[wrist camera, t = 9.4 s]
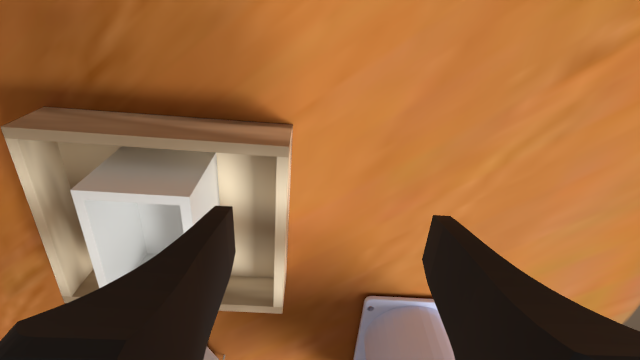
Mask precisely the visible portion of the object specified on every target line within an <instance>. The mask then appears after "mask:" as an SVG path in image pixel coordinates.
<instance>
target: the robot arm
mask: <svg viewBox="0 0 640 360" xmlns="http://www.w3.org/2000/svg"><path fill="white" fill-rule="evenodd" d="M235 253H236V249H235V234H234V220H233V206H214V207H213V208H212V209H211V210H210V211H209V212H207V213H206V214H205V215H204V216H203V217H202V218H201V219H200V220H199V221H197V222H196V223H195V224H194V225H193V226H192V227H191V228H190V229H188V230H187V231H186V232H185V233H184V234H183V235H181V236H180V237H179V238H178V239H177V240H175V241H174V242H173V243H171V244H170V245H169V246H168V247H166V248H165V249H164V250H162V251H161V252H160V253H158V254H157V255H156V256H154V257H153V258H151V259H150V260H148V261H147V262H145V263H143V264H142V265H140V266H139V267H137V268H136V269H134V270H132V271H131V272H129V273H127V274H125V275H123V276H122V277H120V278H118V279H116V280H114V281H112V282H111V283H109V284H107V285H105V286H103V287H101V288H99V289H97V290H95V291H93V292H91V293H89V294H87V295H84V296H82V297H80V298H78V299H75V300H73V301H71V302H68V303H66V304H64V305H61V306H59V307H56V308H53V309H51V310H48V311H46V312H43V313H40V314H38V315H35V316H32V317H30V318H27V319H24V320H21V321H18V322H17V323H16V324H15V325H14V326H13V328H12V329H11V330H10V331H9V332H8V333H7V334H6V335H5V336H4V338H3V339H2V340H1V341H0V360H203V359H204V355H205V351H206V347H207V343H208V340H209V337H210V333H211V330H212V327H213V325H214V322H215V319H216V316H217V313H218V311H219V308H220V305H221V302H222V299H223V297H224V294H225V291H226V288H227V285H228V282H229V279H230V276H231V272H232V267H233V263H234V258H235ZM422 260H423V265H424V270H425V274H426V278H427V283H428V286H429V289H430V291H431V294H432V297H433V299H422V298H403V297H384V296H368V297H366V298H365V300H364V305H363V311H362V316H361V321H360V326H359V332H358V337H357V342H356V347H355V353H354V358H353V360H640V331H637V330H634V329H632V328H629V327H627V326H624V325H622V324H620V323H617V322H615V321H613V320H611V319H609V318H606V317H604V316H602V315H600V314H597V313H595V312H593V311H591V310H589V309H587V308H585V307H583V306H581V305H579V304H577V303H575V302H573V301H571V300H570V299H568V298H566V297H564V296H562V295H560V294H558V293H556V292H555V291H553V290H551V289H549V288H548V287H546V286H544V285H543V284H541V283H540V282H538V281H536V280H535V279H533V278H531V277H530V276H528V275H527V274H525V273H524V272H522V271H521V270H519V269H518V268H516V267H515V266H514V265H512V264H511V263H509V262H508V261H507V260H505V259H504V258H502V257H501V256H500V255H499V254H497V253H496V252H495V251H493V250H492V249H491V248H489V247H488V246H487V245H486V244H484V243H483V242H482V241H481V240H479V239H478V238H477V237H476V236H475V235H473V234H472V233H471V232H470V231H468V230H467V229H466V228H465V227H464V226H462V225H461V224H460V223H459V222H457V221H456V220H455V219H453V218H452V217H451V216H438V215H433V218H432V222H431V226H430V230H429V234H428V238H427V242H426V246H425V250H424V254H423V258H422ZM370 306H372V307H370Z"/></svg>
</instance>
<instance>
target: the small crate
mask: <svg viewBox="0 0 640 360" xmlns="http://www.w3.org/2000/svg"><path fill="white" fill-rule="evenodd" d="M70 191H71V195H72V198H73V201H74V205H75V208H76V211H77V215H78V218H79V222H80V225H81V228H82V232H83V235H84V238H85V242H86V245H87V248H88V252H89V255H90V258H91V262H92V265H93V269H94V272H95V275H96V279H97V282H98V285H99V288H101V287H103V286H105V285H107V284H109V283H111V282H112V281H114V280H116V279H118V278H120V277H122V276H123V275H125V274H127V273H129V272H131V271H132V270H134V269H136V268H137V267H139V266H140V265H142V264H143V263H145V262H147V261H148V260H150V259H151V258H153V257H154V256H156V255H157V254H158V253H160V252H161V251H162V250H164V249H165V248H166V247H168V246H169V245H170V244H171V243H173V242H174V241H175V240H177V239H178V238H179V237H180V236H181V235H183V234H184V233H185V232H186V231H187V230H188V229H190V228H191V227H192V226H193V225H194V224H195V223H196V222H197V221H199V220H200V219H201V218H202V217H203V216H204V215H205V214H206V213H207V212H209V211H210V210H211V209H212V208H213V207H214V206H220V200H219V186H218V171H217V157H216V153H214V152H199V151H185V150H170V149H155V148H141V147H125V146H122V147H120V148H119V149H118V150H117V151H116V152H114V153H113V154H112V155H111V156H110V157H109V158H107V159H106V160H105V161H104V162H103V163H101V164H100V165H99V166H98V167H97V168H96V169H94V170H93V171H92V172H91V173H90V174H88V175H87V176H86V177H85V178H84V179H83V180H81V181H80V182H79V183H78V184H77V185H75V186H74V187H73V188H72V189H71V190H70Z"/></svg>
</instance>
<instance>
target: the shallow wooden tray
mask: <svg viewBox="0 0 640 360" xmlns="http://www.w3.org/2000/svg"><path fill="white" fill-rule="evenodd" d="M1 129H2V132H3V135H4V138H5V140H6V143H7V146H8V149H9V151H10V154H11V157H12V160H13V162H14V165H15V168H16V171H17V173H18V176H19V179H20V182H21V184H22V187H23V190H24V193H25V195H26V198H27V201H28V204H29V206H30V209H31V212H32V215H33V217H34V220H35V223H36V226H37V228H38V231H39V234H40V237H41V239H42V242H43V245H44V248H45V250H46V253H47V256H48V259H49V261H50V264H51V267H52V270H53V272H54V275H55V278H56V281H57V283H58V286H59V289H60V292H61V294H62V297H63V300H64V303H68V302H71V301H73V300H75V299H78V298H80V297H82V296H84V295H87V294H89V293H91V292H93V291H95V290H97V289H99V285H98V282H97V279H96V275H95V272H94V269H93V265H92V262H91V258H90V255H89V252H88V248H87V245H86V242H85V238H84V235H83V232H82V228H81V225H80V222H79V218H78V215H77V211H76V208H75V205H74V201H73V198H72V195H71V191H70V190H71V189H72V188H73V187H74V186H75V185H77V184H78V183H79V182H80V181H81V180H83V179H84V178H85V177H86V176H87V175H88V174H90V173H91V172H92V171H93V170H94V169H96V168H97V167H98V166H99V165H100V164H101V163H103V162H104V161H105V160H106V159H107V158H109V157H110V156H111V155H112V154H113V153H114V152H116V151H117V150H118V149H119V148H120V147H122V146H125V147H141V148H155V149H170V150H185V151H199V152H214V153H216V157H217V171H218V186H219V200H220V206H233V220H234V234H235V249H236V253H235V258H234V263H233V267H232V272H231V276H230V279H229V282H228V285H227V288H226V291H225V294H224V297H223V299H222V302H221V305H220V308H219V311H237V312H257V313H277V314H282V312H283V303H284V294H285V284H286V269H287V246H288V224H289V201H290V178H291V155H292V133H293V125H291V124H278V123H264V122H250V121H236V120H222V119H208V118H194V117H180V116H166V115H152V114H138V113H124V112H110V111H97V110H83V109H69V108H55V107H42V108H40V109H38V110H36V111H34V112H32V113H29V114H27V115H25V116H23V117H21V118H19V119H16V120H14V121H12V122H10V123H8V124H5V125H3V126H1Z"/></svg>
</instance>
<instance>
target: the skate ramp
mask: <svg viewBox="0 0 640 360" xmlns="http://www.w3.org/2000/svg"><path fill="white" fill-rule="evenodd" d="M224 359H225V355H224V356H223V360H224ZM203 360H219V359H218V358H217V357H216V356H215V355H214V354H213V352H212V351H211V350H210V349H209V348H208V347H206V351H205V355H204V359H203Z"/></svg>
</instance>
